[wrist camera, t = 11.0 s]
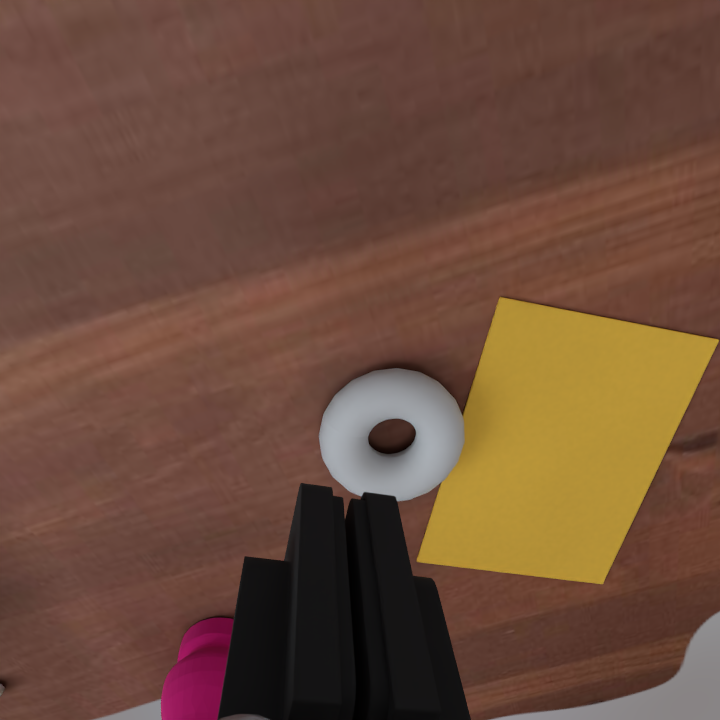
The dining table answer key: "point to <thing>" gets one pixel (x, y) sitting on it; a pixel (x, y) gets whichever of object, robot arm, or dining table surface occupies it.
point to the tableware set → (1, 689)
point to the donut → (389, 401)
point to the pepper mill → (198, 672)
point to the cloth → (561, 441)
